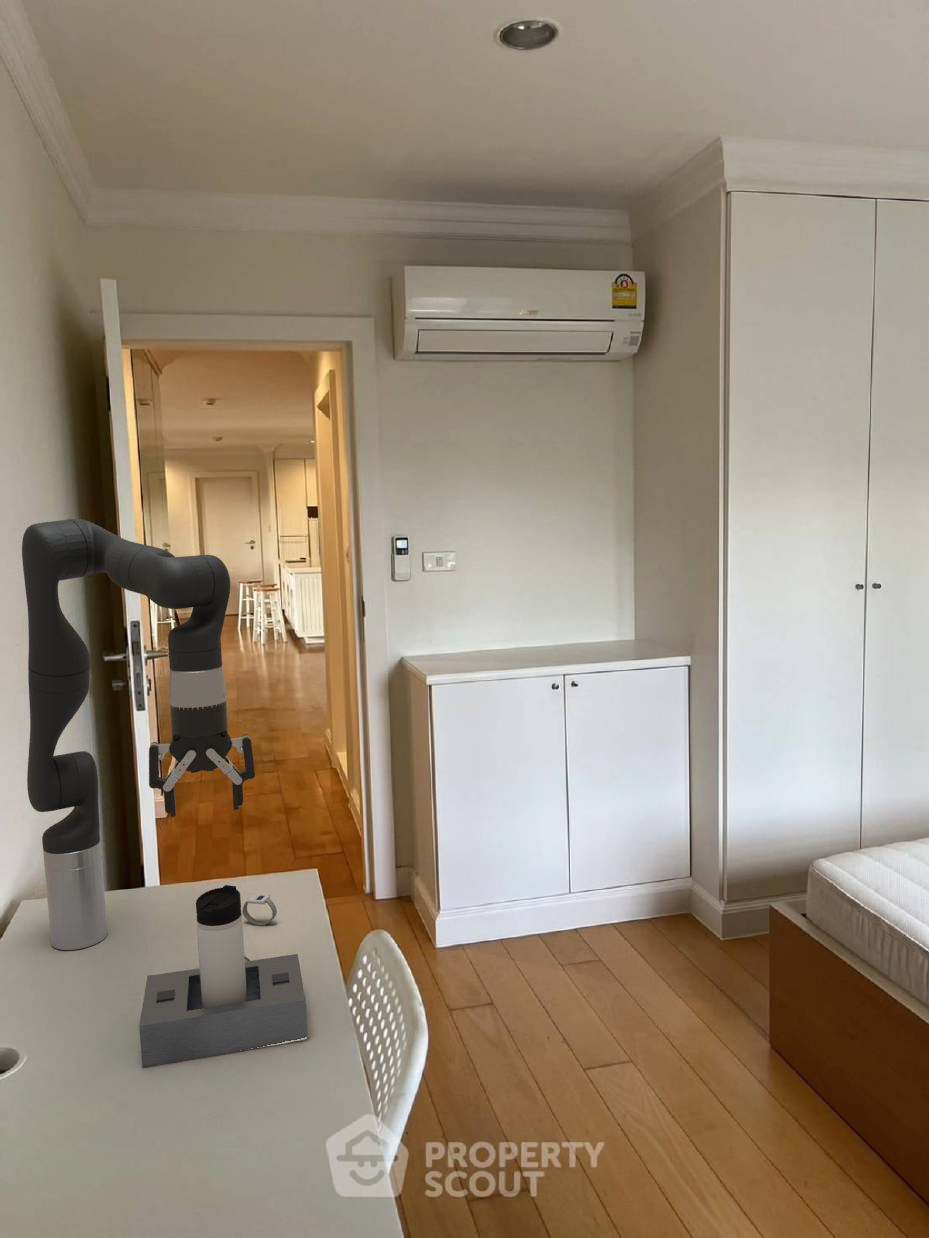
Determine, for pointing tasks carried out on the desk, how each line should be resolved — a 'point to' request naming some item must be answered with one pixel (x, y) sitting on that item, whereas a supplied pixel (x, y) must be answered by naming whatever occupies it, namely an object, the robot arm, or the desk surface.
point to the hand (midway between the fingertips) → (204, 811)
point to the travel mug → (221, 947)
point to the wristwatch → (259, 900)
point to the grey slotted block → (221, 1013)
